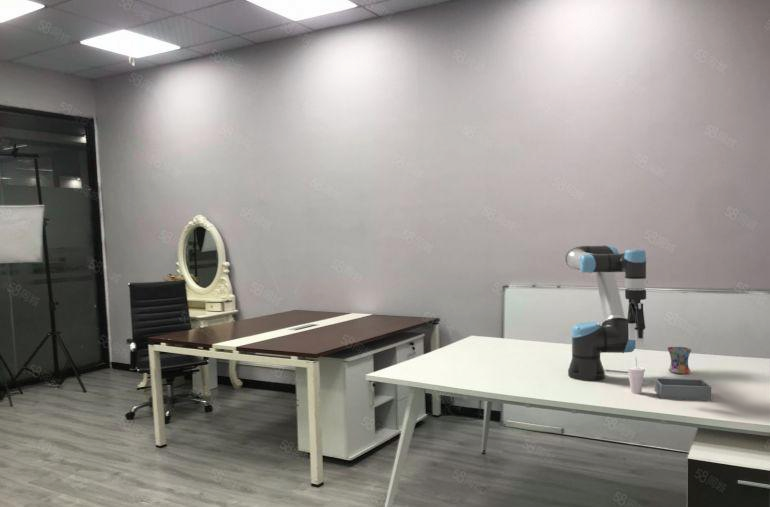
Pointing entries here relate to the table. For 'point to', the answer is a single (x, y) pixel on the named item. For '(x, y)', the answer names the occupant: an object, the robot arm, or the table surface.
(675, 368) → the mug
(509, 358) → the table surface
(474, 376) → the table surface
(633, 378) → the smoothie
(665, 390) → the tray
